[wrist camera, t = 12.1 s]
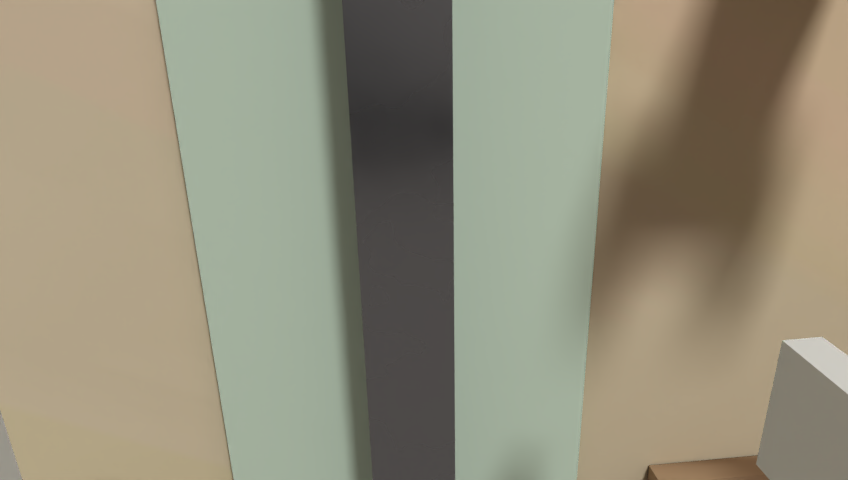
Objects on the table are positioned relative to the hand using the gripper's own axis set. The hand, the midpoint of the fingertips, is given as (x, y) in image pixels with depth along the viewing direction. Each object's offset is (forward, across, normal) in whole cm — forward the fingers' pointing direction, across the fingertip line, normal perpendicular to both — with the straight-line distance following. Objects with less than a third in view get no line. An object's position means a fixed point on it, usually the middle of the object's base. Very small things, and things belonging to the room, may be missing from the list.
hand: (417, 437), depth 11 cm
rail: (+9, 0, 0) cm, 9 cm away
